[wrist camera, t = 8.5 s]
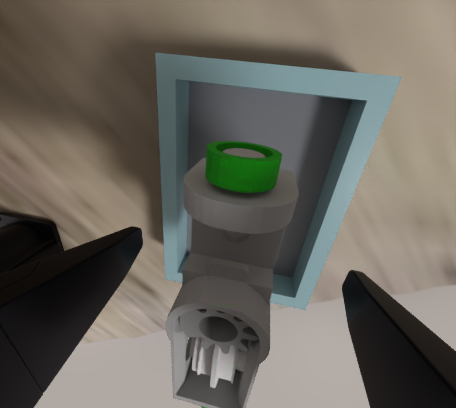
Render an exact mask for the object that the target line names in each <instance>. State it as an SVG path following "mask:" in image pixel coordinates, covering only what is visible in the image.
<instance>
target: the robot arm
mask: <svg viewBox="0 0 456 408" xmlns="http://www.w3.org/2000/svg"><path fill="white" fill-rule="evenodd" d="M142 245H143V239H142V230H141V228H138V227H133V226H131V227H128V228H126V229H123V230H120V231H118V232H115V233H112V234H109V235H107V236H104V237H101V238H99V239H96V240H93V241H90V242H88V243H85V244H82V245H80V246H77V247H74V248H72V249H69V250H66V251H64V250H63V247H62V244H61V241H60V237H59V234H58V231H57V228H56V226H55V225H54V224H53V223H52V222H48V221H43V220H38V219H33V218H28V217H23V216H18V215H13V214H8V213H4V212H0V408H34V406H35V405H36V403H37V402H38V401H39V399H40V398H41V396H42V395H43V392H45V390H46V389H47V388H48V386H49V385H50V383H51V382H52V380H53V379H54V377H55V376H56V375H57V373H58V372H59V370H60V369H61V368H62V366H63V365H64V363H65V362H66V361H67V359H68V358H69V356H70V355H71V353H72V352H73V351H74V349H75V347H76V346H77V345H78V344H79V342H80V341H81V339H82V338H83V336H84V335H85V334H86V332H87V331H88V329H89V328H90V326H91V325H92V324H93V322H94V321H95V319H96V318H97V317H98V315H99V314H100V312H101V311H102V309H103V308H104V307H105V305H106V304H107V302H108V301H109V299H110V298H111V297H112V295H113V294H114V292H115V291H116V290H117V288H118V287H119V285H120V284H121V282H122V281H123V279H124V278H125V276H126V275H127V273H128V271H129V270H130V268H131V266H132V264H133V262H134V261H135V259H136V257H137V255H138V254H139V252H140V250H141V248H142ZM342 292H343V298H344V304H345V310H346V316H347V322H348V328H349V332H350V335H351V339H352V343H353V346H354V350H355V354H356V357H357V361H358V364H359V368H360V372H361V375H362V379H363V382H364V386H365V390H366V394H367V397H368V401H369V405H370V408H456V351H455V350H454V349H452V348H451V347H450V346H449V345H448V344H446V343H445V342H444V341H443V340H442V339H441V338H439V337H438V336H437V335H436V334H435V333H433V332H432V331H431V330H430V329H429V328H427V327H426V326H425V325H424V324H423V323H422V322H421V321H419V320H418V319H417V318H416V317H415V316H413V315H412V314H411V313H410V312H409V311H407V310H406V309H405V308H404V307H403V306H402V305H400V304H399V303H398V302H397V301H396V300H394V299H393V298H392V297H391V296H390V295H389V294H387V293H386V292H385V291H384V290H383V289H382V288H380V287H379V286H378V285H377V284H376V283H374V282H373V281H372V280H371V279H370V278H369V277H367V276H366V275H365V274H364V273H363V272H360V271H355V270H351V271H349V273H348V275H347V277H346V279H345V281H344V283H343V285H342Z"/></svg>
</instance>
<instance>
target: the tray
mask: <svg viewBox="0 0 456 408" xmlns="http://www.w3.org/2000/svg"><path fill="white" fill-rule="evenodd" d="M155 60H156V82H157V104H158V126H159V149H160V171H161V193H162V215H163V237H164V259H165V279H167V280H172V281H176V282H181V283H182V269H183V267H184V265H185V263H186V261H187V259H188V258H189V256H190V254H191V231H192V216H191V215H189V214H188V212H187V211H186V210H185V208H184V204H183V180H184V176H185V174H186V173H187V172H188V171H189V170H190V169H191V168H193V167H194V166H195V165H196V164H197V163H198V162H199V161H200V160H201V159H203V158H206V150H207V145H208V144H210V143H213V142H219V141H238V142H248V143H254V144H259V145H263V146H267V147H270V148H273V149H275V150H278V151H279V152H280V153H282V160H281V165H280V169H282V170H289V171H292V172H293V174H294V177H295V181H296V184H297V187H298V192H299V195H298V199H297V202H296V206H295V209H294V213H293V216H292V219H291V221H290V223H289V224H288V225H287V226H286V227H284V230H283V234H282V238H281V242H280V245H279V249H278V253H277V256H276V260H275V264H274V268H273V291H272V295H271V298H270V302H271V303H275V304H280V305H284V306H289V307H293V308H298V309H302V310H306V307H307V305H308V303H309V300H310V298H311V295H312V293H313V290H314V288H315V286H316V283H317V281H318V278H319V276H320V274H321V271H322V269H323V266H324V264H325V261H326V259H327V257H328V254H329V252H330V249H331V247H332V245H333V242H334V240H335V237H336V235H337V232H338V230H339V228H340V225H341V223H342V220H343V218H344V216H345V213H346V211H347V208H348V206H349V204H350V201H351V199H352V196H353V194H354V191H355V189H356V187H357V184H358V182H359V179H360V177H361V175H362V172H363V170H364V167H365V165H366V162H367V160H368V158H369V155H370V153H371V150H372V148H373V146H374V143H375V141H376V138H377V136H378V133H379V131H380V129H381V126H382V124H383V121H384V119H385V117H386V114H387V112H388V109H389V107H390V104H391V102H392V100H393V97H394V95H395V92H396V90H397V88H398V85H399V83H400V80H401V78H402V77H397V76H387V75H377V74H367V73H357V72H347V71H336V70H326V69H316V68H306V67H296V66H286V65H276V64H266V63H256V62H245V61H235V60H225V59H215V58H205V57H195V56H185V55H175V54H165V53H155Z"/></svg>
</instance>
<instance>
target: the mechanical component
mask: <svg viewBox="0 0 456 408" xmlns="http://www.w3.org/2000/svg"><path fill="white" fill-rule="evenodd" d="M281 160H282V153H280V152H279V151H278V150H275V149H273V148H270V147H267V146H263V145H259V144H254V143H248V142H238V141H219V142H213V143H210V144H208V145H207V150H206V158H203V159H201V160H200V161H199V162H198V163H197V164H196V165H195V166H194V167H193V168H191V169H190V170H189V171H188V172H187V173H186V174H185V176H184V180H183V204H184V208H185V210H186V211H187V212H188V214H189V215H191V216H192V231H191V254H190V256H189V258H188V259H187V261H186V263H185V265H184V267H183V269H182V287H181V289H180V292H179V294H178V296H177V298H176V300H175V302H174V304H173V306H172V309H171V311H170V313H169V315H168V317H167V320H166V332H167V336H168V337H169V339H170V341H171V354H172V355H171V356H172V380H173V398H175V399H178V400H182V401H186V402H189V403H193V404H196V405H199V406H201V407H202V408H246V405H247V401H248V398H249V395H250V392H251V389H252V386H253V383H254V380H255V377H256V373H257V370H258V367H259V364H260V363H261V362H263V361H264V360H265V359H266V357H267V356H268V354H269V350H270V298H271V295H272V291H273V268H274V264H275V260H276V256H277V253H278V249H279V245H280V242H281V238H282V234H283V230H284V227H286V226H287V225H288V224H289V223H290V221H291V219H292V216H293V213H294V209H295V206H296V202H297V199H298V195H299V192H298V187H297V184H296V181H295V177H294V174H293V172H292V171H289V170H282V169H280V165H281ZM188 337H189V340H188ZM187 342H188V343H187Z"/></svg>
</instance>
